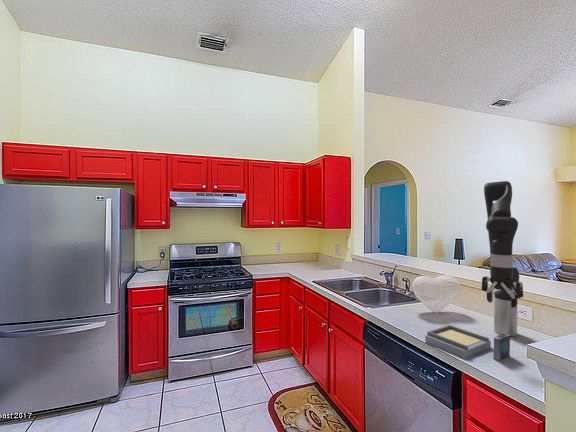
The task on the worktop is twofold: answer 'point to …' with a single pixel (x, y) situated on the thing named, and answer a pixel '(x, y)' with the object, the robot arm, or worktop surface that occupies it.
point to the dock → (457, 341)
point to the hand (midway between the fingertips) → (501, 304)
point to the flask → (501, 346)
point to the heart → (436, 291)
